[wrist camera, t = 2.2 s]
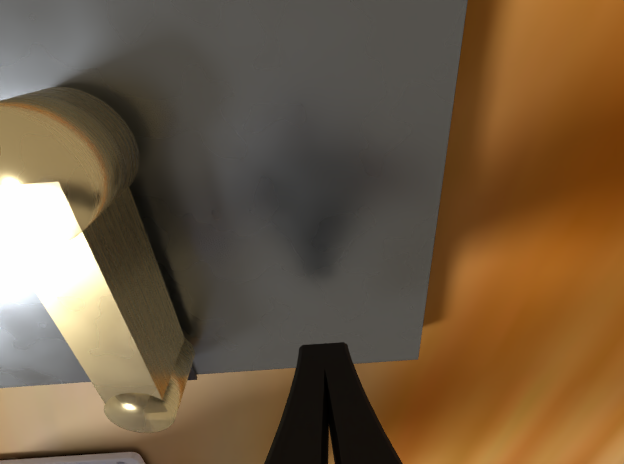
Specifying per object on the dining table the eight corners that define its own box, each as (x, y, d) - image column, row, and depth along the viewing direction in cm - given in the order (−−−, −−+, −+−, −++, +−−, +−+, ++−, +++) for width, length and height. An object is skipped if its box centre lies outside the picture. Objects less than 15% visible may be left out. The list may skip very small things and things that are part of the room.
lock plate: (-21, 364, 16) (-51, 396, 15) (-701, -433, 6) (-1011, -574, 4) (408, 335, 16) (418, 364, 15) (504, -542, 6) (570, -723, 4)
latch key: (-6, 91, 8) (-109, 114, 6) (116, 82, 8) (54, 103, 6) (136, 372, 14) (106, 435, 12) (210, 367, 14) (194, 429, 12)
